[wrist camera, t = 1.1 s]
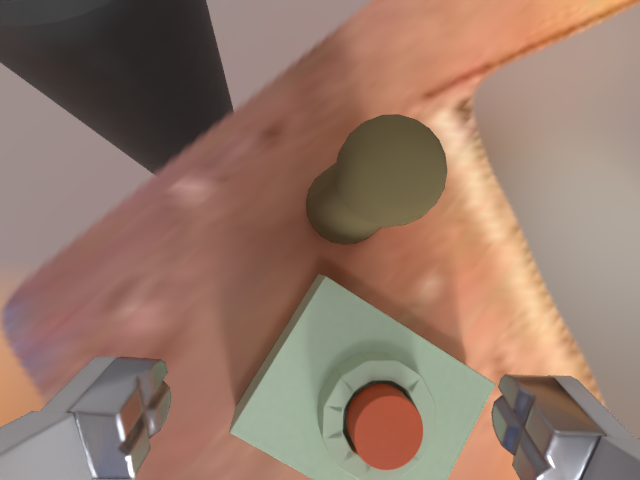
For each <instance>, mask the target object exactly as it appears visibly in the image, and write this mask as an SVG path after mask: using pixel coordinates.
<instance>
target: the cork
mask: <svg viewBox="0 0 640 480" xmlns="http://www.w3.org/2000/svg"><path fill="white" fill-rule="evenodd" d="M446 176H447V165H446V157H445V153H444V150H443V148H442V146H441V143H440V141H439V139H438V138H437V137H436V136H435V135H434V133H433V132H432V131H431V130H430V129H429V128H428V127H426V126H425V125H423V124H422V123H420V122H419V121H417V120H415V119H412V118H409V117H405V116H402V115H381V116H378V117H376V118H373V119H371V120H368V121H366V122H364V123H362V124H361V125H360V126H359V127H357V128H356V129H355V130H354V131H353V132H351V133H350V134H349V136H348V138H347V139H346V141H345V143H344V144H343V146H342V148H341V149H340V151H339V153H338V158H337V163H335V164H334V165H333V166H331V167H330V168H328V169H327V170H326V171H324V172H323V173H322V174H321V175H319V176H318V177H317V178H316V179H315V180H314V182H313V183H312V185H311V187H310V189H309V191H308V195H307V200H306V206H307V215H308V217H309V219H310V222H311V224H312V226H313V227H314V228H315V230H316V231H317V232H318V233H319V234H320V235H321V236H322V237H324V238H326V239H327V240H329V241H331V242H334V243H338V244H343V245H345V244H355V243H358V242H360V241H362V240H364V239H367V238H368V237H369V236H371V235H372V234H373V233H374V232H376V231H377V230H378V229H380V228H381V227H382V226H383V227H390V226H401V225H406V224H408V223H410V222H413V221H415V220H417V219H419V218H421V217H422V216H423V215H425V214H426V213H427V212H428V211H429V210H430V209H431V208H432V207H433V206H434V205H435V204H436V203H437V201H438V199H439V198H440V196H441V194H442V192H443V190H444V187H445V182H446Z"/></svg>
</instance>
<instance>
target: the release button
mask: <svg viewBox="0 0 640 480" xmlns="http://www.w3.org/2000/svg"><path fill="white" fill-rule="evenodd" d="M346 421H347V429H348V433H349V435H350V437H351V439H352V442H353V444H354V446H355V448H356V451H357V453H358V454H359V456H360V457H361V459H362V460H363V461H364V462H365V463H366V464H368V465H369V466H371V467H373V468H375V469H378V470H383V471H389V470H395V469H398V468H400V467H402V466H404V465H406V464H407V463H408V462H410V461H411V460H412V459H413V457H414V456H415V455H416V453H417V452H418V450H419V448H420V445H421V442H422V438H423V423H422V419H421V416H420V414H419V412H418V410H417V408H416V407H415V406H414V405H413V404H412V403H411V402H410V401H409V400H408V398H407V397H406V396H405V395H404V394H403V393H402V392H401V391H399V390H398V389H397V388H395V387H393V386H391V385H388V384H374V385H370V386H368V387H366V388H364V389H362V390H361V391H360V392H359V393H358V394H357V395H356V396H355V397H354V398H353V400H352V401H351V403H350V406H349V408H348V412H347V419H346Z"/></svg>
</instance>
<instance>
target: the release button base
mask: <svg viewBox="0 0 640 480" xmlns="http://www.w3.org/2000/svg"><path fill="white" fill-rule="evenodd" d="M374 384H388V385H391V386H393V387H395V388H397V389H398V390H399V391H401V392H402V393H403V394H404V395H405V396H406V397H407V398H408V400H409V401H410V402H411V403H412V404H413V405H414V406H415V407H416V408H417V410H418V412H419V414H420V416H421V419H422V423H423V438H422V442H421V445H420V448H419V450H418V452H417V453H416V455H415V456H414V457H413V459H412V460H411V461H410V462H408V463H407V464H406V465H404V466H402V467H400V468H398V469H395V470H389V471H383V470H378V469H375V468H373V467H371V466H369V465H368V464H366V463H365V462H364V461H363V460H362V459H361V457H360V456H359V454H358V453H357V451H356V448H355V446H354V444H353V442H352V439H351V437H350V435H349V433H348V429H347V421H346V419H347V412H348V408H349V406H350V403H351V401H352V400H353V398H354V397H355V396H356V395H357V394H358V393H359V392H360V391H361V390H362V389H364V388H366V387H368V386H370V385H374ZM494 386H495V383H493V382H492V381H490V380H489V379H487V378H485V377H484V376H482V375H481V374H479V373H478V372H476V371H474V370H473V369H471V368H470V367H468V366H467V365H465V364H463V363H462V362H460V361H459V360H457V359H456V358H454V357H452V356H451V355H449V354H448V353H446V352H445V351H443V350H441V349H440V348H438V347H437V346H435V345H434V344H432V343H430V342H429V341H427V340H426V339H424V338H423V337H421V336H419V335H418V334H416V333H415V332H413V331H412V330H410V329H408V328H407V327H405V326H404V325H402V324H401V323H399V322H397V321H396V320H394V319H393V318H391V317H390V316H388V315H386V314H385V313H383V312H382V311H380V310H379V309H377V308H375V307H374V306H372V305H371V304H369V303H368V302H366V301H364V300H363V299H361V298H360V297H358V296H356V295H355V294H353V293H352V292H350V291H349V290H347V289H345V288H344V287H342V286H341V285H339V284H338V283H336V282H334V281H333V280H331V279H330V278H328V277H327V276H324V275H320V274H318V275H317V277H316V278H315V280H314V282H313V283H312V285H311V286H310V288H309V290H308V291H307V293H306V294H305V296H304V298H303V299H302V301H301V303H300V304H299V306H298V307H297V309H296V311H295V312H294V314H293V315H292V317H291V319H290V320H289V322H288V324H287V325H286V327H285V328H284V330H283V332H282V333H281V335H280V336H279V338H278V340H277V341H276V343H275V344H274V346H273V348H272V349H271V351H270V353H269V354H268V356H267V357H266V359H265V361H264V362H263V364H262V365H261V367H260V369H259V370H258V372H257V374H256V375H255V377H254V378H253V380H252V382H251V383H250V385H249V386H248V388H247V390H246V391H245V393H244V394H243V396H242V398H241V399H240V401H239V403H238V404H237V406H236V407H235V411H234V415H233V419H232V423H231V427H230V433H231V434H233V435H235V436H237V437H239V438H240V439H242V440H244V441H246V442H247V443H249V444H251V445H253V446H255V447H256V448H258V449H260V450H262V451H263V452H265V453H267V454H269V455H271V456H272V457H274V458H276V459H278V460H279V461H281V462H283V463H285V464H287V465H288V466H290V467H292V468H294V469H296V470H297V471H299V472H301V473H303V474H304V475H306V476H308V477H310V478H312V479H313V480H447V479H448V477H449V475H450V473H451V471H452V469H453V467H454V465H455V463H456V461H457V459H458V457H459V455H460V453H461V451H462V449H463V447H464V445H465V443H466V441H467V439H468V437H469V435H470V433H471V431H472V429H473V427H474V425H475V423H476V421H477V419H478V418H479V416H480V414H481V412H482V410H483V408H484V406H485V404H486V402H487V400H488V398H489V396H490V394H491V392H492V390H493V388H494Z"/></svg>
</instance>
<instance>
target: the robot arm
mask: <svg viewBox="0 0 640 480" xmlns="http://www.w3.org/2000/svg"><path fill="white" fill-rule="evenodd" d="M167 373H168V372H167V367H166V363H165V361H163V360H161V359H149V358H135V357H113V356H98V357H96V358H93V359H92V360H91V361H90V362H89V363H88V364H87V365H86V366H85V367H84V368H83V369H82V370H81V371H80V372H79V373H78V374H77V375H76V376H75V377H74V378H73V379H72V380H71V381H70V382H69V383H68V384H67V385H66V386H65V387H64V388H63V389H62V390H61V391H60V392H59V393H58V394H57V395H56V396H55V397H54V398H53V399H52V400H51V401H50V402H49V403H48V404H47V405H46V406H45V407H44V408H43V409H42V410H41V411H32V412H30V413H28V414H26V415H24V416H22V417H20V418H18V419H16V420H14V421H12V422H10V423H8V424H6V425H4V426H2V427H0V480H93V479H134V478H135V476H136V474H137V472H138V470H139V469H140V467H141V465H142V463H143V461H144V460H145V458H146V456H147V454H148V452H149V451H150V443H149V439H150V438H151V437H152V436H154V435H155V434H156V433H158V432H159V431H160V430H161V428H162V427H163V425H164V423H165V421H166V419H167V415H168V412H169V408H170V403H171V392H170V387H169V386H168V385H167V384H166V383H165V382H164V381H163V379H164V378H165V376H166V374H167ZM498 388H499V389H500V391H501V393H502V396H500V397H499V398H498V399H497V400H496V401H494V404H493V409H492V423H493V427H494V430H495V433H496V436H497V438H498V440H499V442H500V444H501V445H502V446H503V447H504V448H505V449H506V450H507V451H509V452H510V453H511V454H512V455H514V457H513V464H512V466H513V467H514V469H515V471H516V473H517V475H518V476H519V478H520V480H640V438H635V437H634V436H633V435H632V434H631V433H630V432H629V431H628V430H627V429H626V428H625V427H624V426H623V425H622V424H621V423H620V422H619V421H618V420H617V419H616V418H615V417H614V416H613V415H612V414H611V413H610V412H609V411H608V410H607V409H606V408H605V407H604V406H603V405H602V404H601V403H600V402H599V401H598V400H597V399H596V398H595V397H594V396H593V395H592V394H591V393H590V392H589V391H588V390H587V389H586V388H585V387H584V386H583V385H582V384H581V383H580V382H579V381H578V380H577V379H575V378H573V377H571V376H550V375H548V376H539V375H511V374H505V375H504V376H503V377H502V378H501V380H500V383H499V386H498Z"/></svg>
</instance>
